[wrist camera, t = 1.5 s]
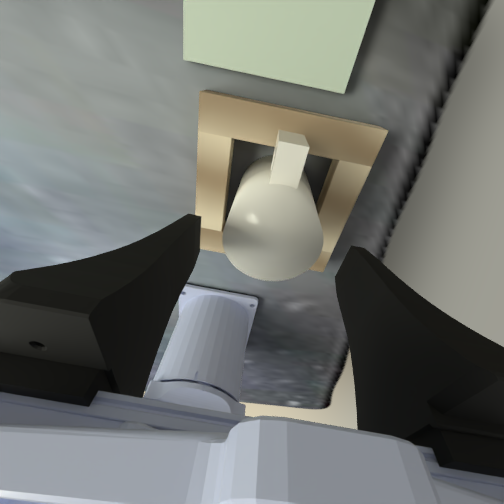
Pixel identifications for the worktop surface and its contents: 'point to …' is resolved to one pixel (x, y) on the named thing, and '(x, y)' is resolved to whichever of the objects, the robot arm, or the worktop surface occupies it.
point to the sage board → (278, 38)
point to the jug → (275, 215)
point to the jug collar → (265, 132)
